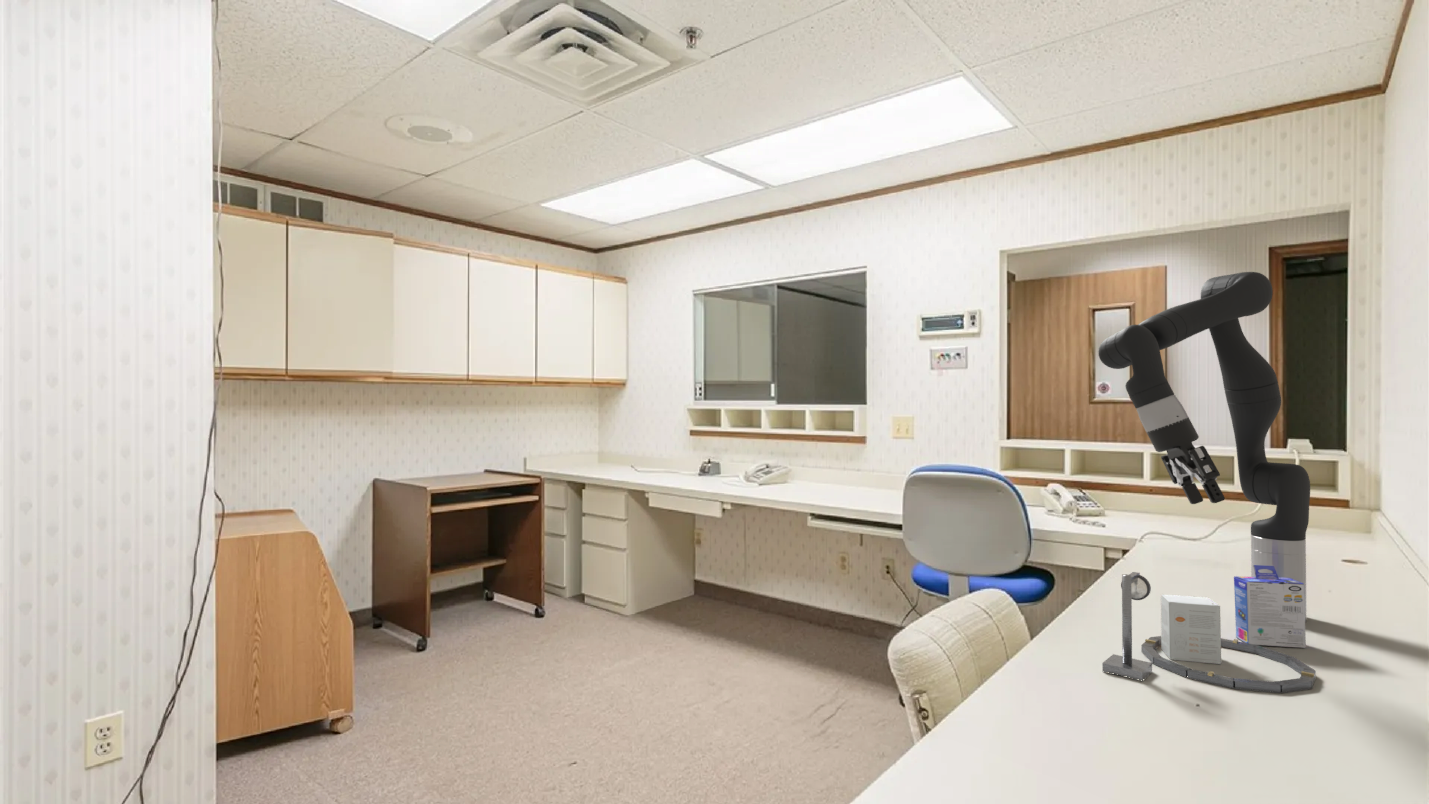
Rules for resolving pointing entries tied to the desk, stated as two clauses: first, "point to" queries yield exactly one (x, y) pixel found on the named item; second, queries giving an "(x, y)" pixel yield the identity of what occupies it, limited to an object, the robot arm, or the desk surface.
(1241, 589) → the ink cartridge box
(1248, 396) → the robot arm
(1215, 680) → the ring
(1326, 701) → the desk surface
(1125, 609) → the dial gauge stand
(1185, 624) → the small box
